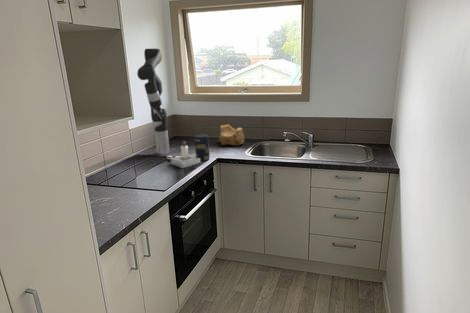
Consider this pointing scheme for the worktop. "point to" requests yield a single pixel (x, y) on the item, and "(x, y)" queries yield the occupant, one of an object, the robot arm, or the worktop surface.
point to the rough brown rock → (231, 135)
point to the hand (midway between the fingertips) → (160, 121)
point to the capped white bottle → (184, 151)
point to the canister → (202, 146)
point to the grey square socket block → (185, 161)
